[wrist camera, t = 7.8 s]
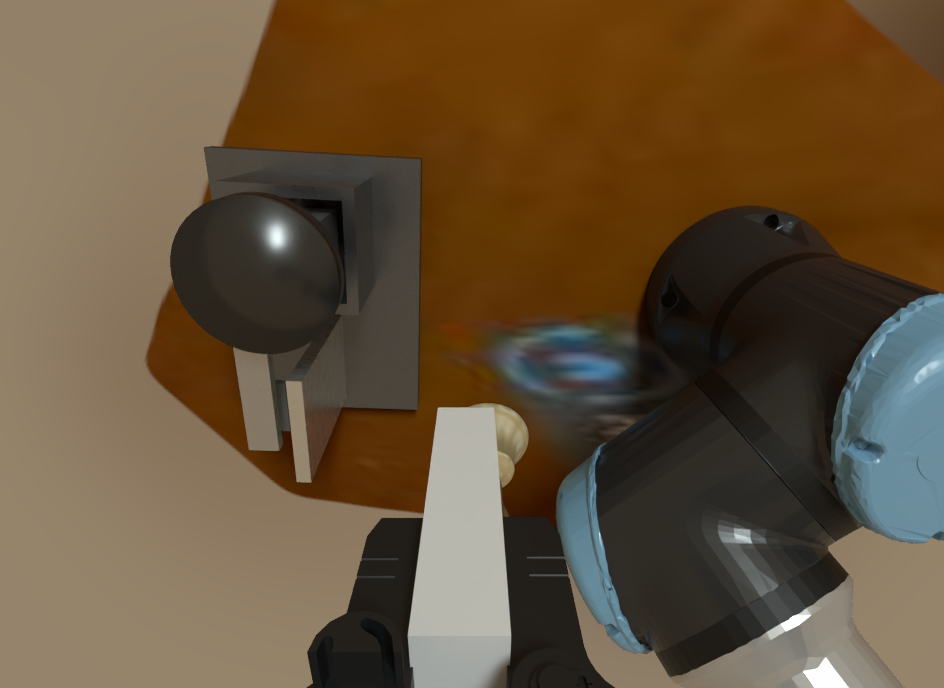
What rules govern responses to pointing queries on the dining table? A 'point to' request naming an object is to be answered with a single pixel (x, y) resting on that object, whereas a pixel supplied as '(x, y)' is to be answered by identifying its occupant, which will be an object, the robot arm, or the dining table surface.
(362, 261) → the press stand
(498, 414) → the hand bell
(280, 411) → the grey flat block
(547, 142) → the dining table surface
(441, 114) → the dining table surface
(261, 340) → the black ball joystick
